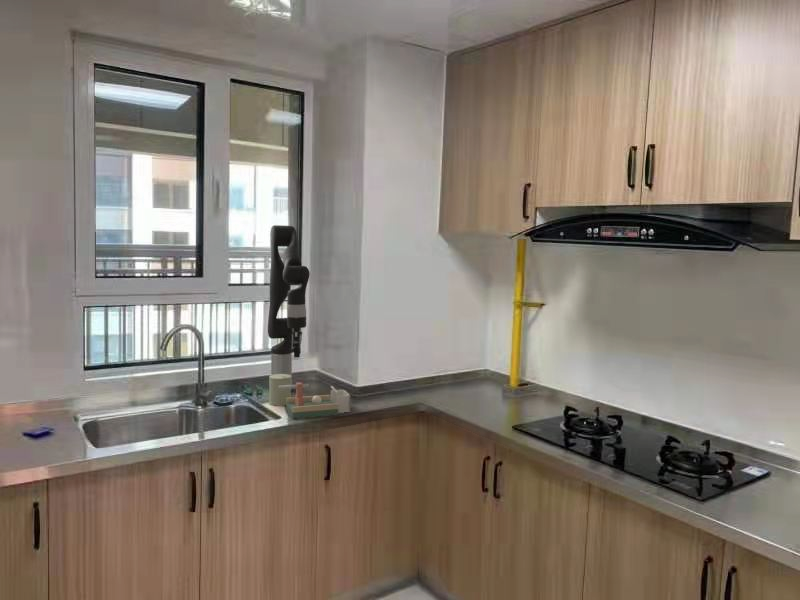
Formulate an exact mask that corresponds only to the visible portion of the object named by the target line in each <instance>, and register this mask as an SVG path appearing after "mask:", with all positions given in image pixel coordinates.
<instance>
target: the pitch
mask: <svg viewBox="0 0 800 600" xmlns="http://www.w3.org/2000/svg"><path fill="white" fill-rule="evenodd" d="M314 396H315V395H310V396H309V395H308V396H303V398H304V406H297V405H296V404H295V396H294V397H291V398H286V405H285V408H286V410H287V412H288V414H289V415H290V418H291V419H292V418H297V419H306V418H305V417H309V418H317V417H316V416H321V417H328V416H327V415H333V416H338V415H339V413H338V403H336V404H333V403H332V402H331V394H323V395H319V396H320V397H321V399H322V402H321V404H320V405H314V404H313V403H312V398H313V397H314Z"/></svg>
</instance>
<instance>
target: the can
mask: <svg viewBox="0 0 800 600" xmlns="http://www.w3.org/2000/svg"><path fill="white" fill-rule="evenodd" d="M268 383H269V386H268V387H269V389H268V390H269V392H268V393H269V396H268V397H269V402H268V404H269V405H271V406H275V407H279V406H280V407H282V406H283V407H284V406H286V398H291V396H292V395H291V394H292V392H291V391H292V390H291V389H279V386H284V385H291V375H288V374H274V375H271V374H270V375H269V376H268Z"/></svg>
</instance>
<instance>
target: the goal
mask: <svg viewBox="0 0 800 600" xmlns="http://www.w3.org/2000/svg"><path fill="white" fill-rule="evenodd" d="M330 389H331V390H330V401H331V402H332V403H333V404H336V403H338V414H345V413H344V412H349V413H351V394H350V393H348V391H346V390H345V389H336V388H335V387H334V386H333V385H331V386H330Z"/></svg>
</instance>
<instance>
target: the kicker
mask: <svg viewBox="0 0 800 600" xmlns="http://www.w3.org/2000/svg"><path fill="white" fill-rule="evenodd" d="M295 383H296V384H292V385H284V386H279V389H295V395H294V397H295V404H296V405H297V406H304V398H303V397H304V395H303V391H304V390H303V389H307V388H311V386H310V383H304V384H303V383H302V382H295Z"/></svg>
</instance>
